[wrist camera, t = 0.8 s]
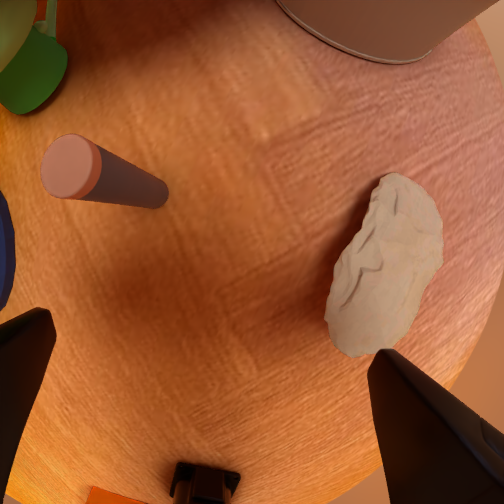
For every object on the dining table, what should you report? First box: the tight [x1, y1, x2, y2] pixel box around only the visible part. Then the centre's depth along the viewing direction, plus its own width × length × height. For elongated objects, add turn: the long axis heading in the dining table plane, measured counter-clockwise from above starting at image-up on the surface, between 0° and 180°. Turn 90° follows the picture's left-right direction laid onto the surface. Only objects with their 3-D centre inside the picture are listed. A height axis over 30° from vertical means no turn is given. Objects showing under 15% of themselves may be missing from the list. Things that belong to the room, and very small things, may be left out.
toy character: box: [0, 0, 68, 114], centre depth 12 cm, size 10×18×13 cm, turn 18°
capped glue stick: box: [41, 134, 169, 209], centre depth 15 cm, size 2×2×13 cm
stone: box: [324, 172, 444, 358], centre depth 20 cm, size 8×5×15 cm
